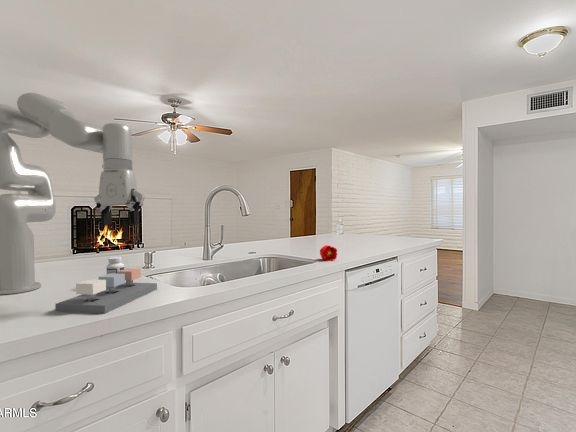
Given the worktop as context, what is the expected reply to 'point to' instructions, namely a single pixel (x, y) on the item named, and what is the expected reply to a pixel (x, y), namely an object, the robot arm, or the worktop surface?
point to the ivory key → (91, 288)
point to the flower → (328, 253)
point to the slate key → (113, 281)
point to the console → (106, 299)
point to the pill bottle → (114, 265)
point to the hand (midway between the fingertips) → (119, 225)
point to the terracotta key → (130, 275)
